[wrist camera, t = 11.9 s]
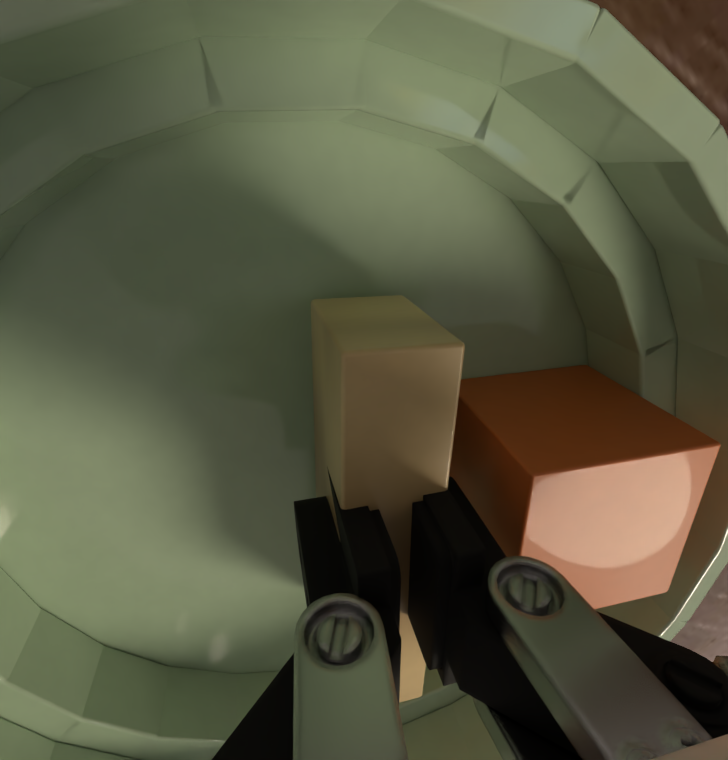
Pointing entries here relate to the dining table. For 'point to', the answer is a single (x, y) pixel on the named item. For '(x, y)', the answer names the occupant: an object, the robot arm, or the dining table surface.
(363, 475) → the pale wooden beam
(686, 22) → the dining table surface
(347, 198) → the bowl
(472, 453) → the block
